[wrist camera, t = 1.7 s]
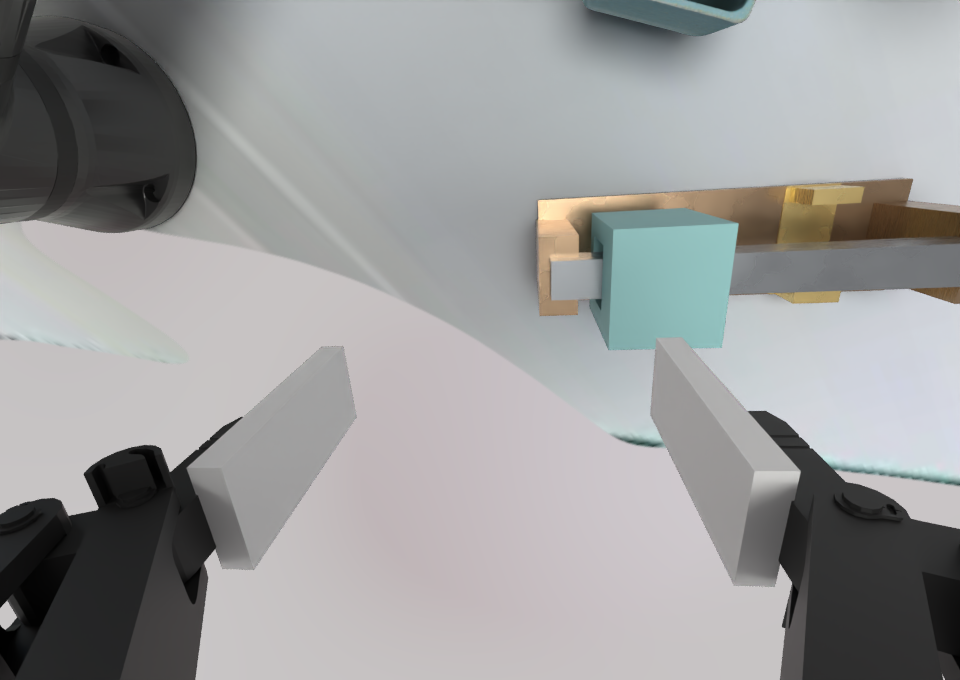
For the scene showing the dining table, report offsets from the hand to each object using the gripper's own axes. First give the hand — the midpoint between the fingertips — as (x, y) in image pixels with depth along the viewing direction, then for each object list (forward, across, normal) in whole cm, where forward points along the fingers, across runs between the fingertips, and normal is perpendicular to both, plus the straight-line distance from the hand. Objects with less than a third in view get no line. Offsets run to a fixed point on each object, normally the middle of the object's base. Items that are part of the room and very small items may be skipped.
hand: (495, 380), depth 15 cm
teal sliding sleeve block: (+16, +8, 0) cm, 18 cm away
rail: (+24, +15, 0) cm, 28 cm away
